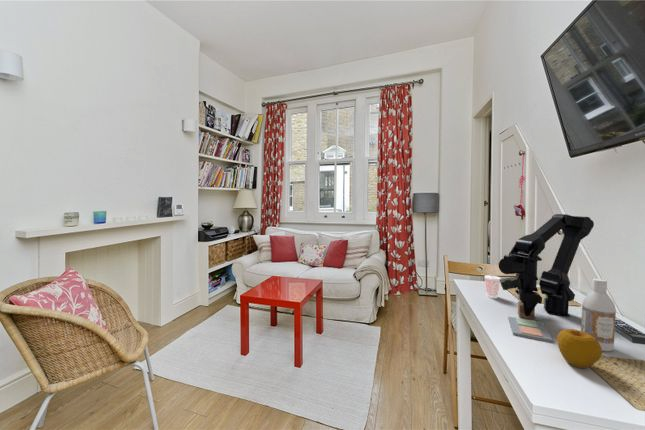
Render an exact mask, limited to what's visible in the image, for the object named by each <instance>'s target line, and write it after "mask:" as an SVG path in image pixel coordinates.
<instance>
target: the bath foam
mask: <svg viewBox="0 0 645 430" xmlns="http://www.w3.org/2000/svg"><path fill="white" fill-rule="evenodd" d="M607 287H608V281H607V280H606V279H602V278H592V287H591V289H592V290H591V291H590V292H589V293H588V294H587V295H586V296H585V297H584V299H583V301H582V304H581V325H580V326H581V327H580V328H581V330H580V331H582V332H585V333H587V334H589V335H591V336H593V337H594V338H595V339H596V340H597V341H598V342H599V344H600V346H601V349H602V352H613V351H614V349H615V338H616V335H615V334H616V333H615V331H616V313H617V311H616V306H615V303H614V301H613V300H612V297H610V296H609V294H608V293H607Z"/></svg>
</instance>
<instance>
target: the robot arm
mask: <svg viewBox="0 0 645 430" xmlns="http://www.w3.org/2000/svg"><path fill="white" fill-rule="evenodd" d="M594 226H595V223H594V221H593V220H592V219H591V217H589V216H579V215H578V216H576V215H575V216H574V215H570V214H564V213H561V214H560V213H557V214H553V215H552V216H551V218H550V219H548V220H547V221H546V222H544V224H543V225H541V226H540V227H538V229H536V230H535V231H534V232H532V233H531V234H527V235H523V236H522V237H520V238H518V239H516V240H515V244H514V245H513V246H512V248H511V250H510V251H509V253H508V254H504V255H503V258H501V259H500V260H499V262H498V269H499V271H500V272H501V273H502V274H504V275H514V274H515V276H513V277H512V276H511V277H506V278H505V277H504V278H500V281H499V284H500V285H501V289H502V290H503V291H508V290H510V289H515V290H514V291H515V293H516V294H517V298H518V299H519V301H520V302H523V307H524V312H525V316H529V315H530V314H531V312H532V311H533V309H534V308H536V306H537V305H538V304H543V309H544V310H545V311H546V313H547V314H549V315H556V316H562V317H569V318H570V316H571V315H570V314H569V307H570V305H569V304H570V303H569V302H572V301H574V300H575V297H576V295H575V293H574V291H573V290H572V289H571V288H570V285H571V281H570V278H569V275H568V274H569V271H570V268H571V267H572V264H573V262H574V258H575V256H576V254H577V251H578V248H579V245H580V243H581V241H582V240H584V238H586V237H587V236H589V235H590V233H591V232H592V230H593V228H594ZM561 231H562V233H563V237H562V240H561V242H560V245H559V248H558V250H557V253H556V255H555V258H554V260H553V264H552V266H551V267H550V269H549V270H547V271H546V270H544V271H542V272H541V276H540V278H539V277H538V262H541V261H543V258H541V257H540V256H539V255H540V254H541V253H542V252H543V250H544V249H546V243H547V242H548V241H549V240H551V238H552V237H554V236H555V235H556V234H557V233H559V232H561ZM538 281H539V282H538ZM537 282H538V283H537ZM537 284H538V285H539V289H540V292H541V294H542V295H544V296H545V297H544V298H543V297H542V295H541V294H539V293H538V292H539V291H538V290H539V289H538V288H537Z"/></svg>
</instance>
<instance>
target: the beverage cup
mask: <svg viewBox="0 0 645 430" xmlns="http://www.w3.org/2000/svg"><path fill="white" fill-rule="evenodd" d="M483 277H484V282H485V283H484V284H485V286H484V287H485V296H486V297H487V298H490V299H497V298H499V290H500V279H501V277H500V276H497V275H494V265H492V266H491V275H489V274H488V275H484V276H483Z"/></svg>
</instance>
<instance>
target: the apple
mask: <svg viewBox="0 0 645 430" xmlns="http://www.w3.org/2000/svg"><path fill="white" fill-rule="evenodd" d="M556 339H557V347H558V350H559V352H560V355H561V356H562V357H563V359H564V360H565V361H566V362H567V363H568V364H570V365H571V366H574V367H577V368H580V369H584V368H586V369H587V368H589V367H591V366H593V365H594V364H596V363H597V362H598V361H599V360H600V359H601V358H602V355H603V351H602V349H601V346H600V344H599V342H598V341H597V340H596V339H595V338H594V337H593V336H591V335H589V334H587V333H585V332H582V331H581V330H579V329H574V328H566V329H562V330H561V331H560V332H559V333H558V334H557V337H556Z"/></svg>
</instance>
